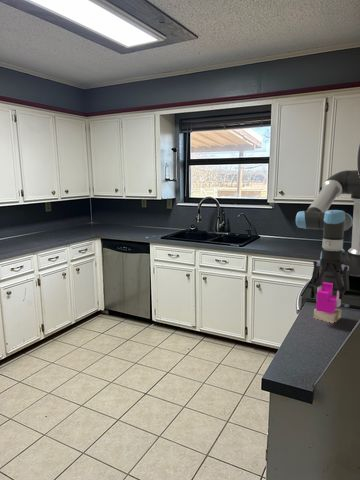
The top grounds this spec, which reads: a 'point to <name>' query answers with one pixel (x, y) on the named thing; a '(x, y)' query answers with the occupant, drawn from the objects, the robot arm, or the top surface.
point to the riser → (328, 315)
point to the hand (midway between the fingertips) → (328, 303)
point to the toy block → (326, 299)
